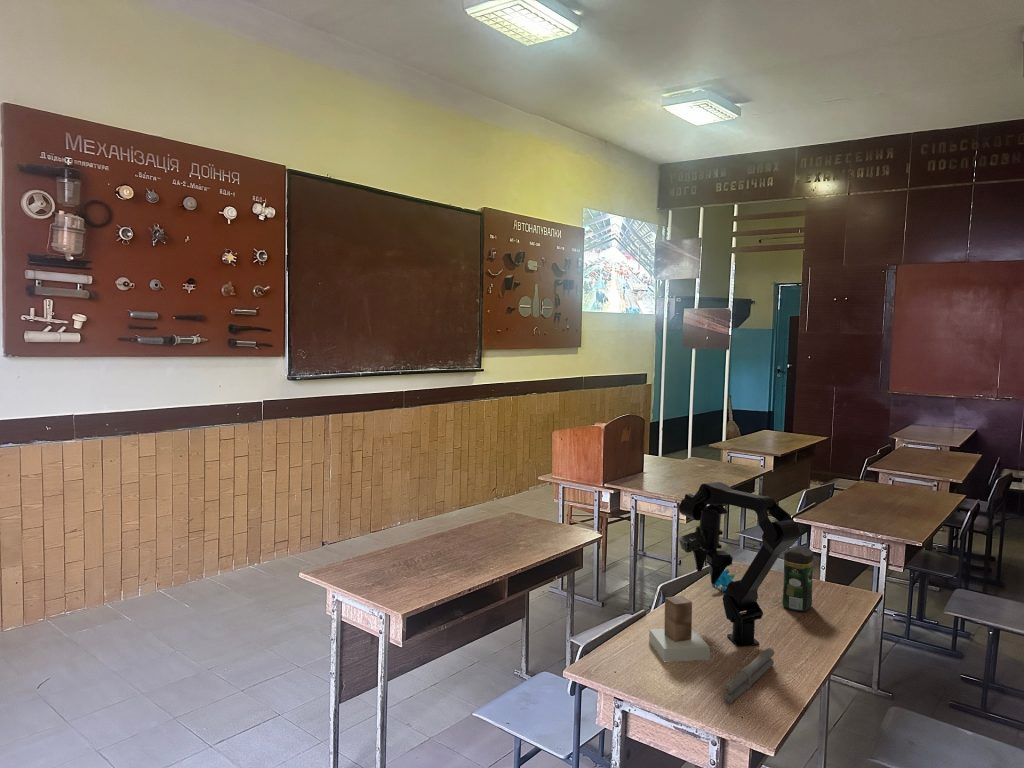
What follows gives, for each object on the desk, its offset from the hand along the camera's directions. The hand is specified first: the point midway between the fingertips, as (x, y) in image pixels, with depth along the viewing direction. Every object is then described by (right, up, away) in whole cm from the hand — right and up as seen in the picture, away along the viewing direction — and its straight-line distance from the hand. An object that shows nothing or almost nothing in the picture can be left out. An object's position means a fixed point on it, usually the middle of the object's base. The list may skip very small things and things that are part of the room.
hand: (706, 577), depth 202 cm
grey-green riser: (-13, -15, -18) cm, 27 cm away
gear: (+13, -12, +28) cm, 33 cm away
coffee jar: (+32, -13, +13) cm, 37 cm away
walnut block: (-13, -11, -18) cm, 24 cm away
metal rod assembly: (0, -16, -35) cm, 39 cm away
